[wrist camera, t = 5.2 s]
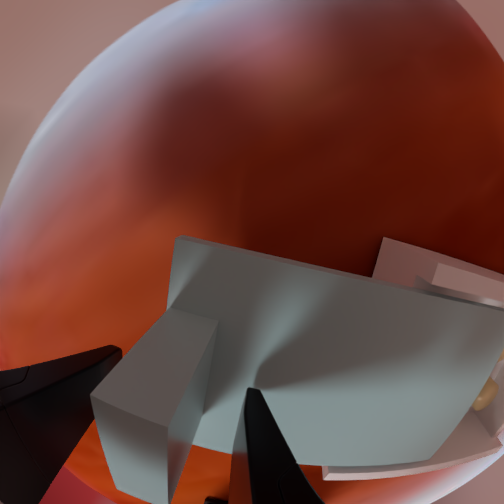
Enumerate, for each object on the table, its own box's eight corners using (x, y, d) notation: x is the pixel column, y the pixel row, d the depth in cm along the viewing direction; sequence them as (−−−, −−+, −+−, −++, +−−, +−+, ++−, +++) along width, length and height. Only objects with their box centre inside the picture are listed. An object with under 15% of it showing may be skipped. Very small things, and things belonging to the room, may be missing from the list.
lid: (425, 452, 10) (452, 518, 5) (164, 425, 10) (123, 509, 5) (510, 309, 8) (582, 360, 3) (182, 235, 8) (73, 285, 4)
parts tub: (471, 413, 14) (496, 452, 9) (316, 414, 14) (323, 480, 9) (533, 286, 11) (578, 309, 6) (383, 236, 12) (438, 262, 7)
